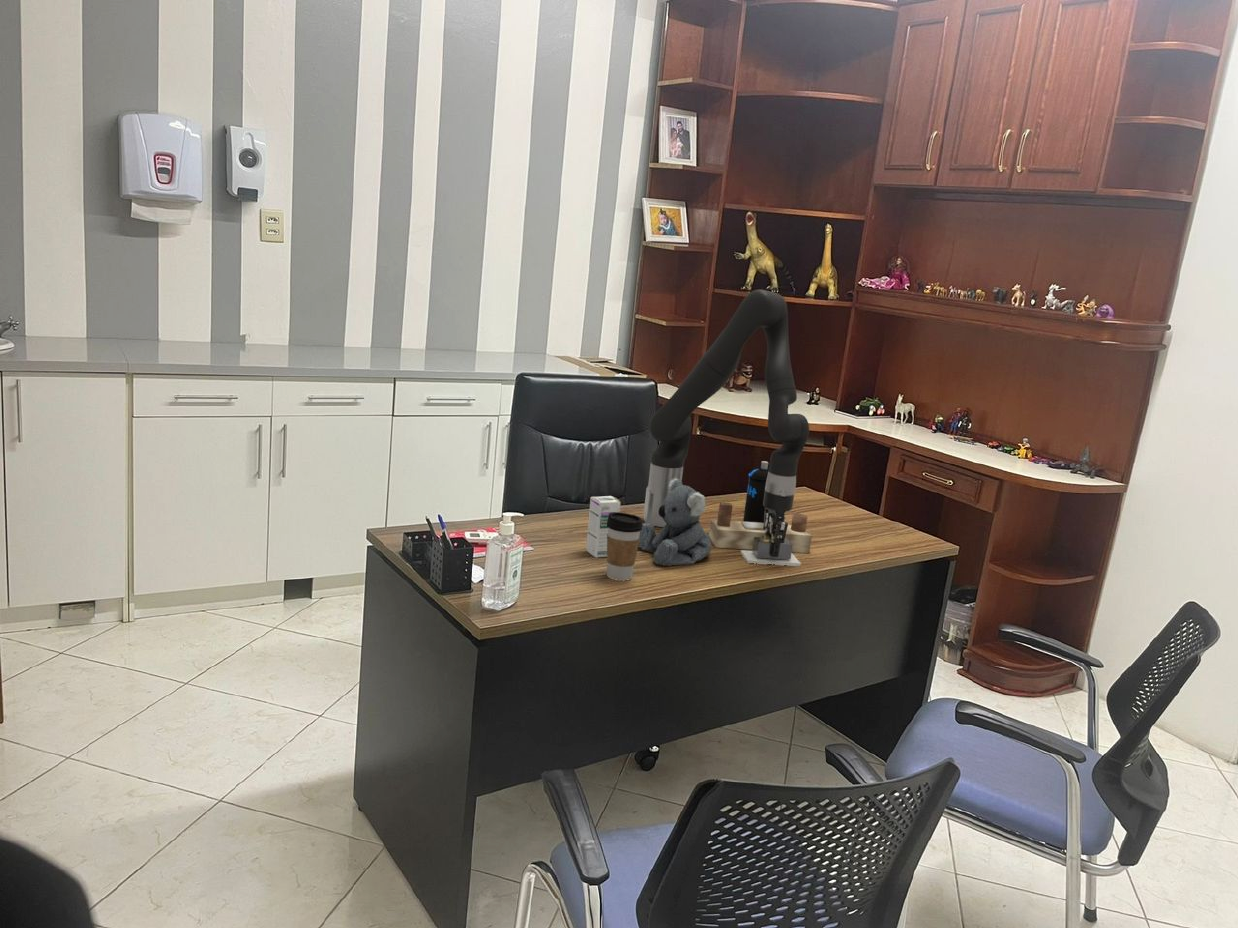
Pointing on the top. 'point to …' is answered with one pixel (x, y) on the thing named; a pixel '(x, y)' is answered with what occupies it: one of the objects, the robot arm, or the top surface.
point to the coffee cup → (622, 544)
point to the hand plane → (754, 531)
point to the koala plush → (678, 528)
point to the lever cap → (764, 544)
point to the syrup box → (600, 524)
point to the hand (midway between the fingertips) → (770, 552)
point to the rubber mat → (769, 559)
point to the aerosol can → (756, 494)
